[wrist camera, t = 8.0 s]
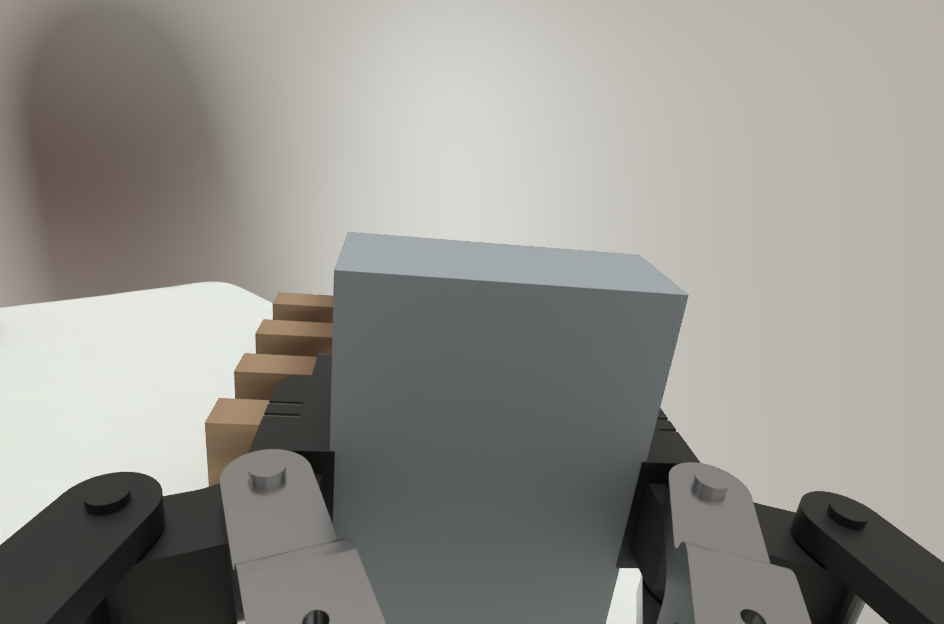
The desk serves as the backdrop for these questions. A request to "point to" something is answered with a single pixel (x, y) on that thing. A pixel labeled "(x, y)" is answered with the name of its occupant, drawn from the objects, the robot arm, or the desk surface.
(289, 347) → the walnut domino
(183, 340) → the desk surface
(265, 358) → the walnut domino
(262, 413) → the walnut domino
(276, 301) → the walnut domino
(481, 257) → the grey domino
